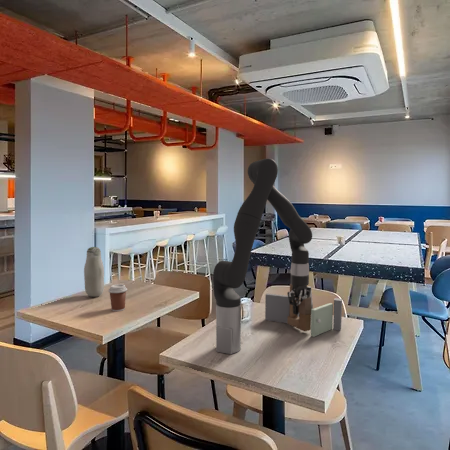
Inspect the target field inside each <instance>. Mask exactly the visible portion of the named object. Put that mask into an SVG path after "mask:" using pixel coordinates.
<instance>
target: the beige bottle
mask: <svg viewBox="0 0 450 450" xmlns="http://www.w3.org/2000/svg"><path fill="white" fill-rule="evenodd" d="M103 263H104V261H103V259H102V252H101V249H100V248H99V247H98V246H90V247H88V248H87V250H86V258H85V263H84V268H83V277H84V290H85V293H86V294H87V296H89V297H90V298H98V297H100V296H102V295H103V293H104V290H105V266H104V264H103Z"/></svg>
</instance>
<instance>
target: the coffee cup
mask: <svg viewBox="0 0 450 450" xmlns="http://www.w3.org/2000/svg"><path fill="white" fill-rule="evenodd" d="M107 291H108V293H109V299H110V305H111V306H110V307H111V311H113V312H121V311H125V309H126V299H127V298H126V295H127V294H126V293H127V291H128V288H127V287H126V285H125V284H123V283H122V284H121V283H116V284H112V285H110V286H109V288H108V290H107Z"/></svg>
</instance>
